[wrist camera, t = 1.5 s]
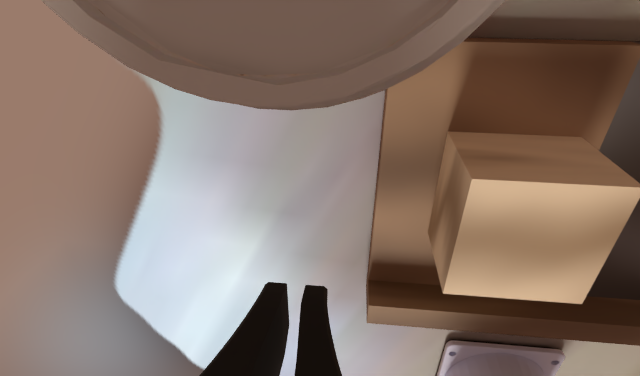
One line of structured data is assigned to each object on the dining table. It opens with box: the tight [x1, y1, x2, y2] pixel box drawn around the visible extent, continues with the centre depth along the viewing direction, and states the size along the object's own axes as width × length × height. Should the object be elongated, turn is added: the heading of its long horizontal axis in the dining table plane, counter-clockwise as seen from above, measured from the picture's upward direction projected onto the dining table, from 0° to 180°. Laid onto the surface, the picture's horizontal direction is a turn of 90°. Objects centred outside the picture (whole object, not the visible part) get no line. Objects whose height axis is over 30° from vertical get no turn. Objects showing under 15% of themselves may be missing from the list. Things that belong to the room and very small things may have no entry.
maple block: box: [428, 131, 640, 304], centre depth 17 cm, size 6×6×4 cm
